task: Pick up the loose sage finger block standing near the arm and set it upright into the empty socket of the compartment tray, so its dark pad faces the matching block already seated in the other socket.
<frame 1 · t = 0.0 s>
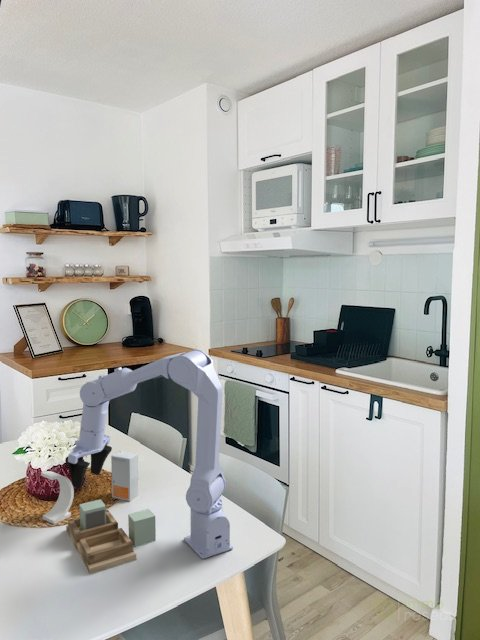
hand: (86, 479, 125), 11 cm above the table, tool pointing down, fingers open, 7 cm apart
headphone stand: (58, 517, 128), on the table
skincare box: (125, 497, 139), on the table
finger block: (142, 539, 118), on the table
compartment tray: (99, 544, 116), on the table
seated block: (93, 517, 119), in the compartment tray, point 4 cm above the table
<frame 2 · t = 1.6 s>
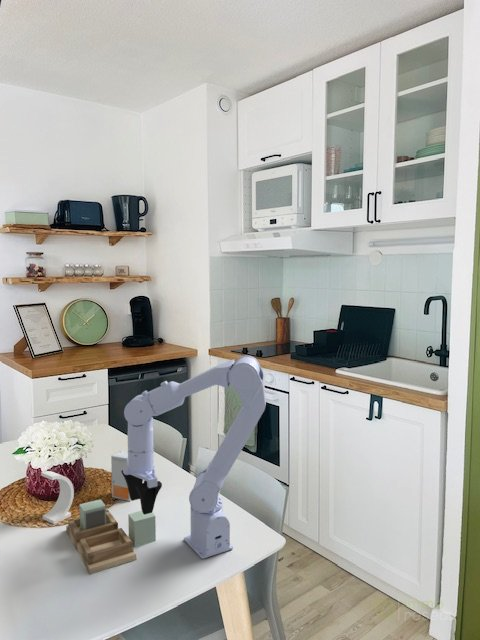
hand: (141, 505, 117), 8 cm above the table, tool pointing down, fingers open, 7 cm apart
nothing on the table moved.
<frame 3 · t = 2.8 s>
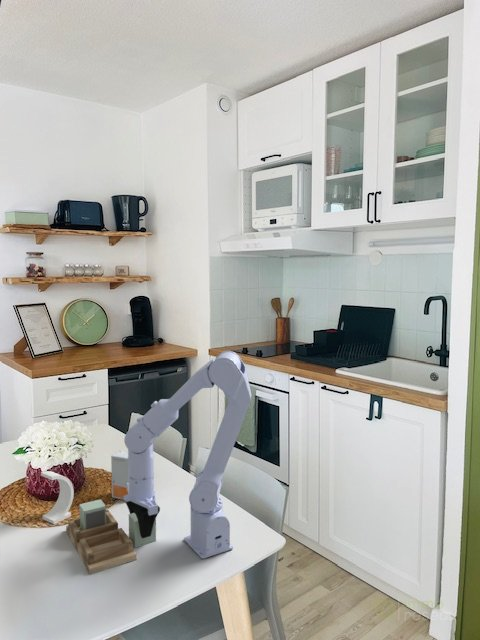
hand: (142, 531, 118), 2 cm above the table, tool pointing down, fingers closed on finger block, 4 cm apart
finger block: (142, 539, 118), on the table, touching gripper
everything else where it was.
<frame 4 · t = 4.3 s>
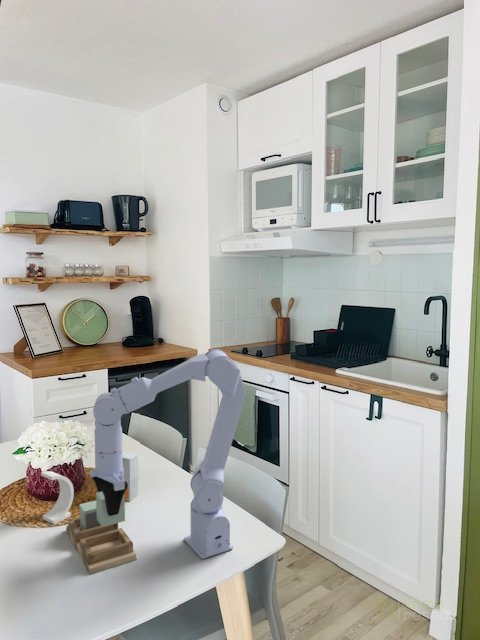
hand: (109, 509, 111), 10 cm above the table, tool pointing down, fingers closed on finger block, 4 cm apart
finger block: (110, 519, 111), point 8 cm above the table, touching gripper
everything else where it was.
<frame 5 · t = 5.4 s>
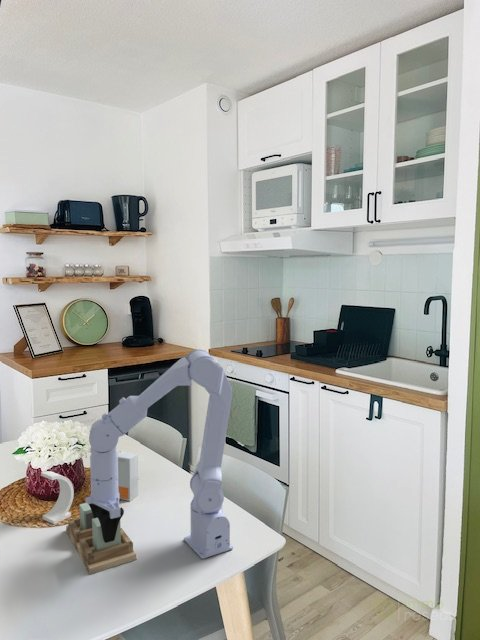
hand: (105, 535, 111), 4 cm above the table, tool pointing down, fingers closed on finger block, 4 cm apart
finger block: (106, 546, 111), point 2 cm above the table, touching gripper
everything else where it was.
when the fingers open (4 cm above the table, at t = 6.1 s): finger block stays where it is, resting on compartment tray.
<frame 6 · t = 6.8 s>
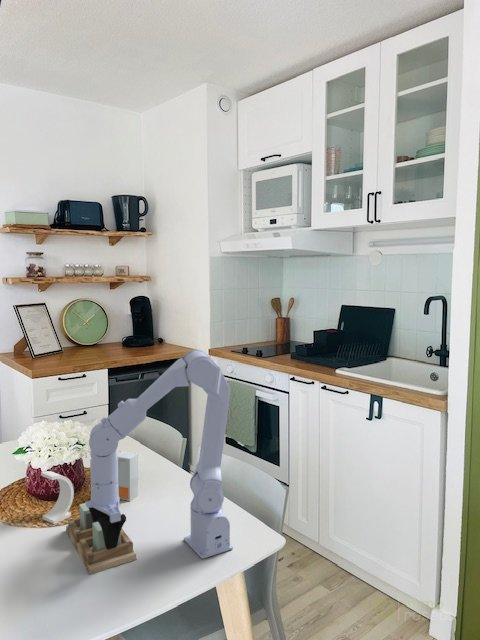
hand: (105, 539, 111), 4 cm above the table, tool pointing down, fingers open, 7 cm apart
finger block: (107, 550, 111), point 1 cm above the table, touching compartment tray
everything else where it was.
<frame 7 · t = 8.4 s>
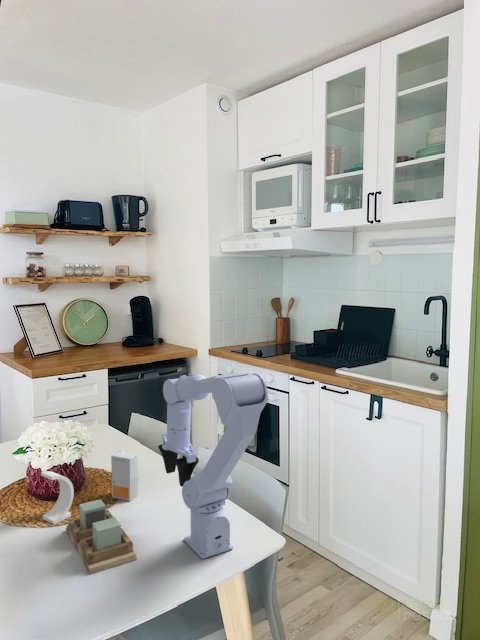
hand: (177, 478, 126), 10 cm above the table, tool pointing down, fingers open, 7 cm apart
nothing on the table moved.
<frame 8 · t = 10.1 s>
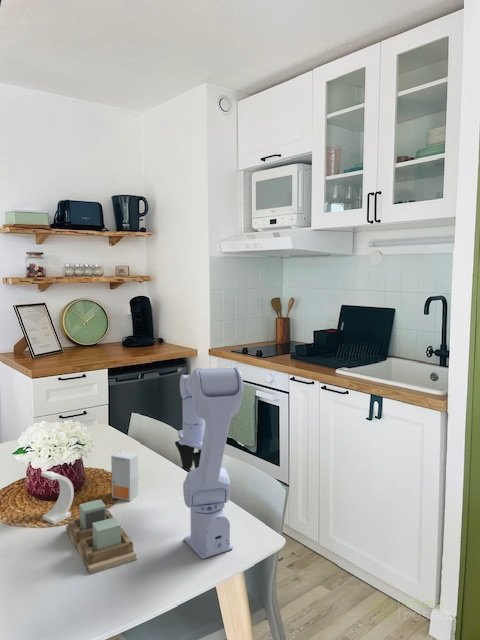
hand: (194, 473, 130), 10 cm above the table, tool pointing down, fingers open, 7 cm apart
nothing on the table moved.
at the end: finger block 0.2 cm from the target spot on the compartment tray, point 1.2 cm above the compartment tray's base; finger block tilted 0°; the gripper is holding nothing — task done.
